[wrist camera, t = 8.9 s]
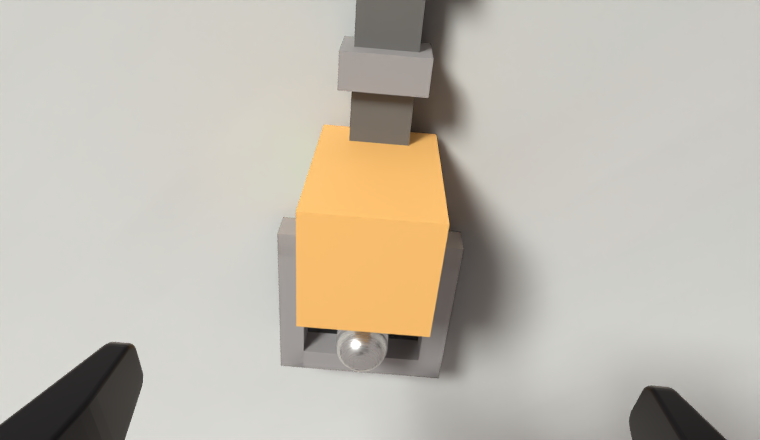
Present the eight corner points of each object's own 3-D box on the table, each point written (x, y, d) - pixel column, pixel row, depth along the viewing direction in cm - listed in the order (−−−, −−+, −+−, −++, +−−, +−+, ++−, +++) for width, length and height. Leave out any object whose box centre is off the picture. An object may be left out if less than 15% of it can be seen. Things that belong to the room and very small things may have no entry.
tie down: (275, -200, 14) (205, -249, 9) (537, -175, 14) (612, -209, 9) (285, 345, 25) (256, 464, 20) (436, 358, 25) (446, 479, 20)
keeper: (445, 233, 22) (453, 312, 18) (426, 336, 25) (430, 421, 22) (298, 221, 22) (276, 298, 18) (299, 326, 25) (281, 409, 21)
